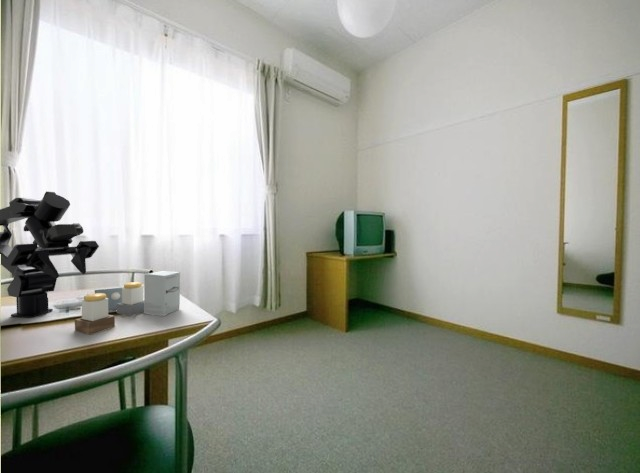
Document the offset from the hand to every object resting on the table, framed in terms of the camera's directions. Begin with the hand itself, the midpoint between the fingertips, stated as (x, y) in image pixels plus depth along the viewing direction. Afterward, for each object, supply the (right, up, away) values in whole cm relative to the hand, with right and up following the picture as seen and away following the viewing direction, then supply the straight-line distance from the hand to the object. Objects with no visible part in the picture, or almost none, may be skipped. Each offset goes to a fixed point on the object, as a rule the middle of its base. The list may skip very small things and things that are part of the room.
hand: (71, 275), depth 78 cm
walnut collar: (+8, -14, -2) cm, 17 cm away
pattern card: (+1, -13, +12) cm, 18 cm away
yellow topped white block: (+9, -10, +12) cm, 18 cm away
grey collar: (+9, -13, +12) cm, 20 cm away
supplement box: (+18, -14, +13) cm, 26 cm away
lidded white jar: (+9, -11, -3) cm, 14 cm away
